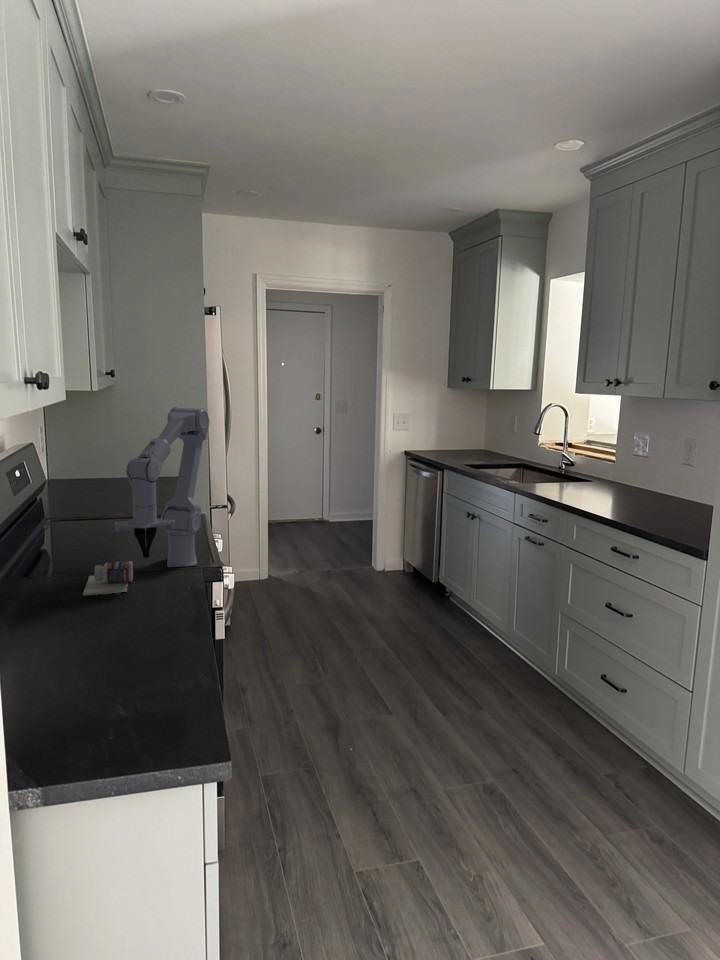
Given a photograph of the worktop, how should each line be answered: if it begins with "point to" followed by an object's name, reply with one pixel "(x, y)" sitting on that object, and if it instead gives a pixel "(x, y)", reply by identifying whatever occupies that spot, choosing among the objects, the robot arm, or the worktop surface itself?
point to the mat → (103, 587)
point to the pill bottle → (114, 572)
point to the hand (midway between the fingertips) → (146, 556)
